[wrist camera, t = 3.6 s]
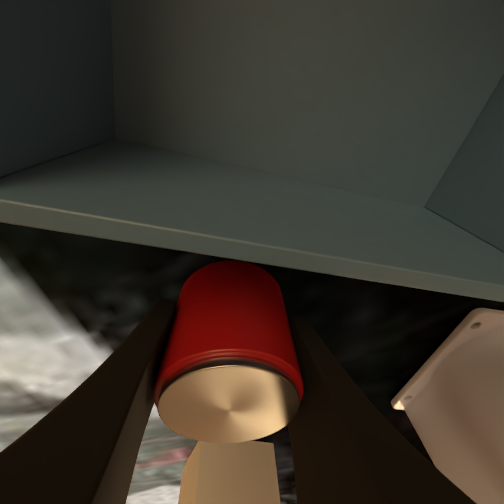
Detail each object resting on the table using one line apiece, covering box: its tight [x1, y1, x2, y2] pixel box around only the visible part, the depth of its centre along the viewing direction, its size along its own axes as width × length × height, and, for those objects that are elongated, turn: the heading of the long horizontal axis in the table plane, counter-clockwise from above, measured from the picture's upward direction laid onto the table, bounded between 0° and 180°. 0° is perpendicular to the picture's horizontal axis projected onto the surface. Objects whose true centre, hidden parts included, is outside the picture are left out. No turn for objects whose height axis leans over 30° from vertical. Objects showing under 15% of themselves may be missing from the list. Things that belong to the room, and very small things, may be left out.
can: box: [153, 260, 304, 443], centre depth 9 cm, size 4×4×4 cm
